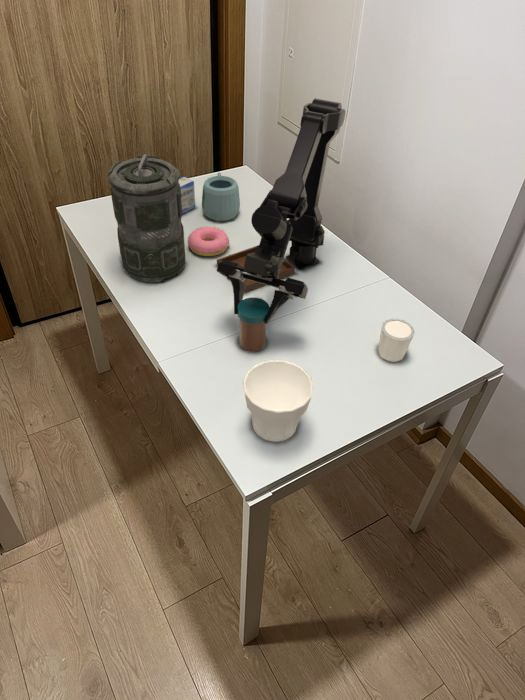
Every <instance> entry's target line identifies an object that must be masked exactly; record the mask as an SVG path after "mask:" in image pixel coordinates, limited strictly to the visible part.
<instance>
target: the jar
mask: <svg viewBox="0 0 525 700" xmlns="http://www.w3.org/2000/svg"><path fill="white" fill-rule="evenodd" d="M266 334H267V324H265V323H264V322H263V323H260V324H248V323H245V322H243V321H241V320H240V319H239V318H238V345H239V347H240V348H241V349H242V350H244V351H247V352H258V351H260V350H262V349H263V348H264V347H265V346H266V337H267V335H266Z"/></svg>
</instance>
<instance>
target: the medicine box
mask: <svg viewBox="0 0 525 700" xmlns="http://www.w3.org/2000/svg"><path fill="white" fill-rule="evenodd" d="M178 182H179V184H180V187H181V201H182V215H184V214H186V213H188V212H190V211H192V210H194V209H196V195H195V181H194V180H193V179H191V178H188V177H186V176H182V177H180V178H179V181H178Z"/></svg>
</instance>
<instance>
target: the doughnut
mask: <svg viewBox="0 0 525 700" xmlns="http://www.w3.org/2000/svg"><path fill="white" fill-rule="evenodd" d="M187 244H188V246H189V248H190V250H191V251H192V252H193V253H195V254H196V255H199V256H202V257H214V256H218V255H221V254H223V253H224V252H226V250H227V249H228V247H229V244H230V239H229V236H228V234H227V233H226V232H225V231H224V230H223V229H221V228H219V227H216V226H201V227H198V228H195V229H194V230H192V231H191V233H189V235H188V236H187Z"/></svg>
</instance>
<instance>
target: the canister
mask: <svg viewBox="0 0 525 700" xmlns="http://www.w3.org/2000/svg"><path fill="white" fill-rule="evenodd" d="M180 176H181V175H180V171H179V169H178V167H177V166H176V165H174V164H173V163H170V162H169V161H166V160H163V159H162V158H161V157H160V156H153V155H147V154H146V153H144V154H143V155H137V156H136V157H134V158H129V159H127V160H124V161H122V160H119V161H117V162H115V163H114V164H113V165H112V166H110V168H109V170H108V173H107V178H108V179H107V180H108V183H109V185H110V197H111V201H112V208H113V213H114V214H113V215H114V218H115V220H116V223H117V229H116V231H117V241H118V248H119V253H120V259H121V263H122V268H123V270H124V271H125V272H126V274H128V275H129V276H131V277H132V278H135V279H137V280H138V281H140V282H146V283H159V282H162V280H167V279H170V278H172V277H174V276H178V275H179V274H180V273H181V272H182V271H183V270H184V269H185V266H186V248H185V247H186V246H185V233H184V225H183V222H182V216H183V214H182V201H181V187H180V184H179V182H178V181H179V179H180V178H181V177H180Z"/></svg>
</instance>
